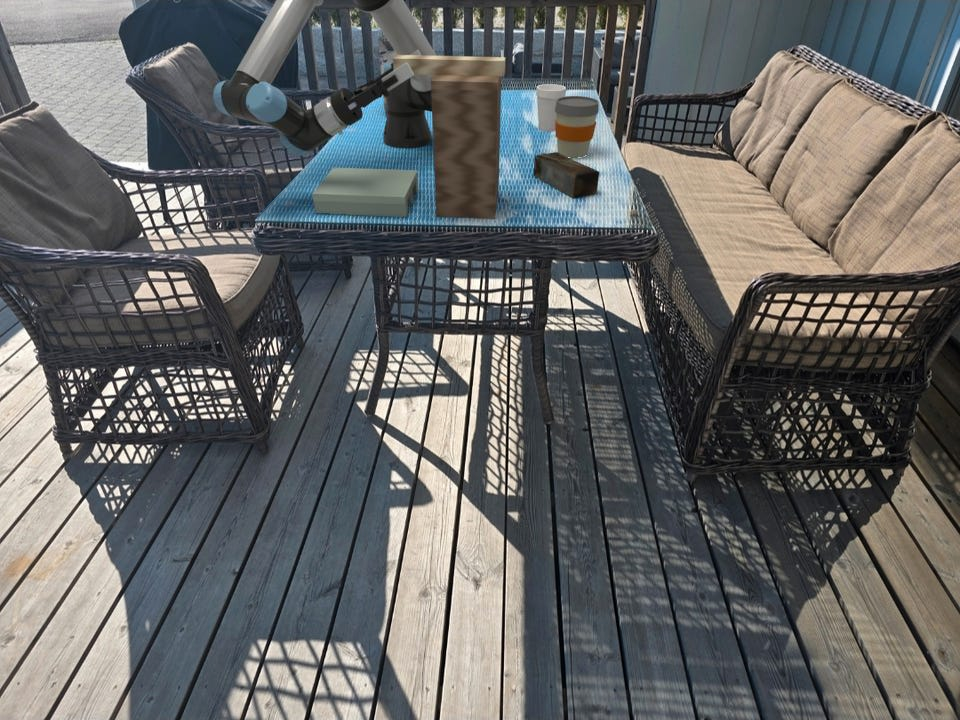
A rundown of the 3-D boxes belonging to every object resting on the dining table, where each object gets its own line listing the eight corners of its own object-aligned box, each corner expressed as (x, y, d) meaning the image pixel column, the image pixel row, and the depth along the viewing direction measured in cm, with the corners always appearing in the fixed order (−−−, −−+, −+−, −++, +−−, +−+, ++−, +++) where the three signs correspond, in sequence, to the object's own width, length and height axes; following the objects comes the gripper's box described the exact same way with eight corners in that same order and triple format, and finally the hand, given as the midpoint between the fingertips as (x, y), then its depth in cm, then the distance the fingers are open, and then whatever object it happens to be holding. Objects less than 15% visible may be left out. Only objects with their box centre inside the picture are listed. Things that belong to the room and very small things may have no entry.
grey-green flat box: (315, 213, 143) (312, 193, 140) (336, 186, 158) (333, 167, 155) (406, 217, 142) (404, 197, 139) (418, 189, 156) (417, 170, 153)
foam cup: (558, 134, 196) (562, 91, 188) (531, 131, 198) (533, 89, 191) (564, 126, 203) (568, 85, 195) (538, 123, 206) (541, 83, 198)
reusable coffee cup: (544, 155, 179) (547, 102, 170) (563, 144, 187) (568, 93, 178) (582, 163, 173) (588, 109, 164) (600, 152, 182) (606, 99, 173)
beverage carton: (555, 172, 168) (557, 148, 164) (598, 194, 155) (601, 169, 151) (532, 176, 165) (533, 152, 161) (573, 200, 152) (576, 175, 148)
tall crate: (436, 216, 142) (430, 80, 124) (444, 191, 155) (440, 65, 137) (494, 218, 141) (497, 82, 123) (498, 193, 154) (501, 66, 136)
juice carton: (414, 111, 217) (409, 27, 201) (408, 119, 209) (402, 32, 192) (390, 110, 218) (383, 27, 202) (383, 118, 209) (375, 31, 193)
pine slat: (393, 73, 130) (392, 58, 128) (397, 69, 133) (396, 54, 131) (504, 76, 128) (504, 60, 126) (505, 72, 131) (505, 57, 129)
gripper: (362, 111, 149) (433, 66, 141) (334, 142, 129) (415, 92, 121) (344, 83, 145) (416, 35, 137) (312, 110, 125) (394, 56, 118)
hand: (416, 61), depth 129 cm, fingers open, 13 cm apart
